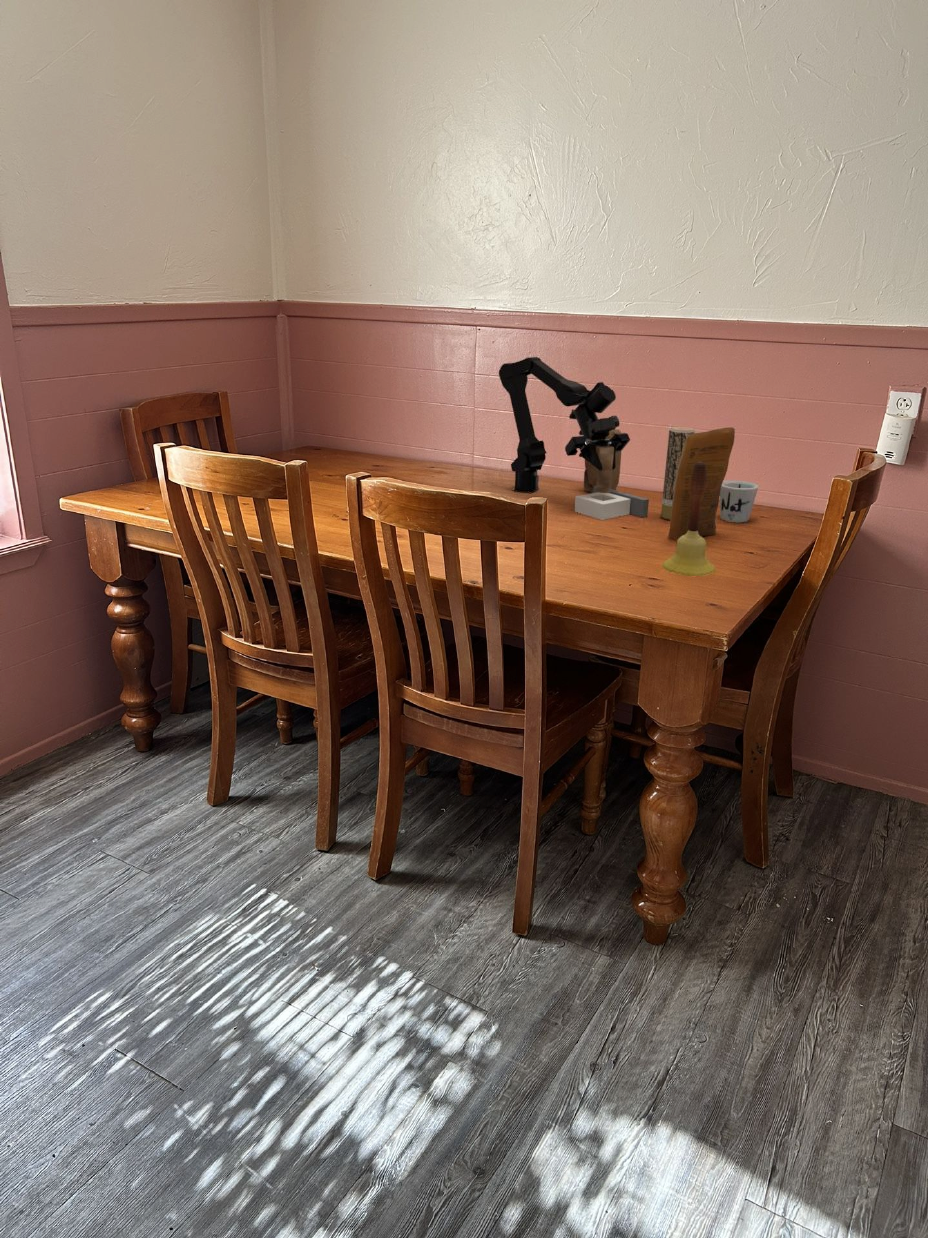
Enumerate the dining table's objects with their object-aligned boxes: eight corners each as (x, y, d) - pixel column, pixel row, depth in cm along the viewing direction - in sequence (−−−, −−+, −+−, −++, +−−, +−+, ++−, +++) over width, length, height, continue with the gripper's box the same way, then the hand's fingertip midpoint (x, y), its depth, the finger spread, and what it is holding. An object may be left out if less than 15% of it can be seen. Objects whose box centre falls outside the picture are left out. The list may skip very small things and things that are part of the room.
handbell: (667, 576, 201) (678, 467, 192) (657, 559, 212) (668, 456, 203) (721, 577, 201) (735, 468, 191) (709, 560, 212) (721, 457, 203)
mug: (711, 521, 246) (715, 485, 242) (723, 509, 258) (727, 475, 254) (749, 526, 241) (754, 490, 237) (760, 514, 253) (764, 479, 250)
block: (620, 494, 273) (625, 429, 266) (603, 497, 269) (608, 431, 261) (595, 487, 281) (600, 424, 274) (578, 490, 277) (582, 426, 269)
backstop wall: (592, 502, 263) (593, 486, 261) (597, 501, 264) (598, 485, 262) (642, 517, 248) (644, 500, 246) (647, 516, 249) (648, 499, 247)
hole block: (574, 511, 253) (575, 496, 251) (601, 506, 259) (602, 491, 257) (602, 520, 245) (603, 504, 243) (629, 514, 251) (630, 498, 249)
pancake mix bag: (730, 534, 233) (744, 428, 223) (675, 543, 225) (687, 433, 214) (713, 528, 239) (725, 424, 228) (658, 536, 230) (668, 429, 220)
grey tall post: (685, 521, 244) (695, 431, 235) (660, 520, 245) (669, 430, 236) (684, 515, 250) (694, 427, 241) (660, 514, 252) (669, 426, 242)
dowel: (594, 491, 249) (597, 447, 244) (598, 488, 252) (601, 445, 247) (608, 493, 247) (611, 449, 243) (612, 490, 251) (615, 446, 246)
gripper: (572, 407, 240) (592, 455, 235) (629, 403, 248) (649, 450, 243) (556, 431, 250) (574, 478, 245) (611, 427, 258) (630, 472, 252)
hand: (607, 469), depth 246 cm, fingers closed on dowel, 4 cm apart
